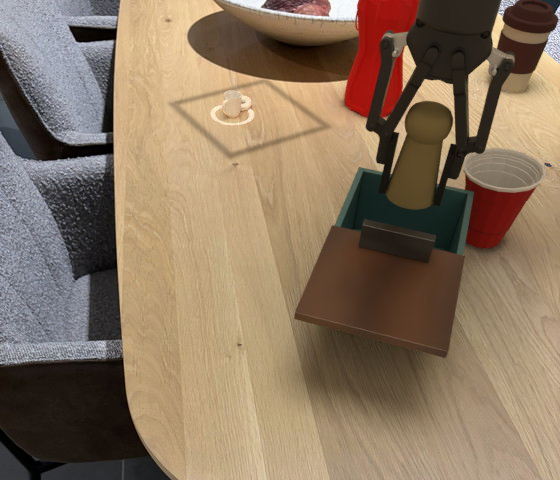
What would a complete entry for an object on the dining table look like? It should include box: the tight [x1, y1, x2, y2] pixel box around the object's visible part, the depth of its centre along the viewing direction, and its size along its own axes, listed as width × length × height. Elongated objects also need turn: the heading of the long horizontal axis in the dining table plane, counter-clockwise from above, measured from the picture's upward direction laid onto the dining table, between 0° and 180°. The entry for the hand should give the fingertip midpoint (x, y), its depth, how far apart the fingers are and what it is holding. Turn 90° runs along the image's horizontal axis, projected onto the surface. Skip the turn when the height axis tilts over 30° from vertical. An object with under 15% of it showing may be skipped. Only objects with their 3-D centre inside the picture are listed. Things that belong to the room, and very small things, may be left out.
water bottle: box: [344, 0, 419, 118], centre depth 104 cm, size 9×11×25 cm
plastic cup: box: [462, 147, 547, 250], centre depth 85 cm, size 11×11×12 cm
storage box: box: [333, 166, 474, 255], centre depth 79 cm, size 16×16×10 cm
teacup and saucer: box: [209, 90, 256, 127], centre depth 107 cm, size 9×8×4 cm
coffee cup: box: [489, 0, 559, 94], centre depth 117 cm, size 10×10×15 cm
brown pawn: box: [386, 100, 454, 210], centre depth 69 cm, size 6×6×11 cm
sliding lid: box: [293, 219, 466, 359], centre depth 64 cm, size 16×16×4 cm
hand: (410, 193), depth 73 cm, fingers closed on brown pawn, 6 cm apart
